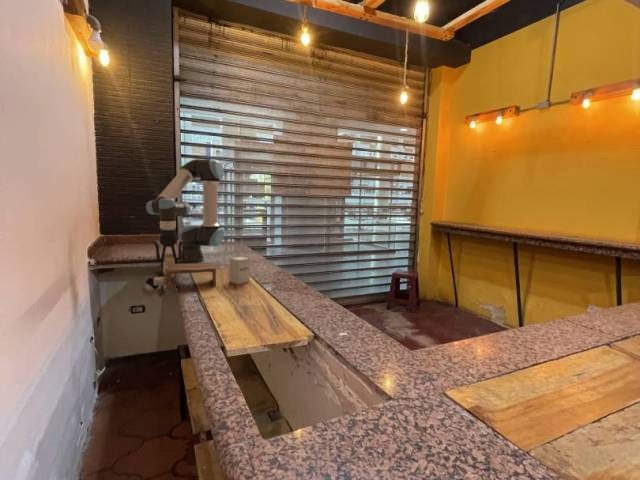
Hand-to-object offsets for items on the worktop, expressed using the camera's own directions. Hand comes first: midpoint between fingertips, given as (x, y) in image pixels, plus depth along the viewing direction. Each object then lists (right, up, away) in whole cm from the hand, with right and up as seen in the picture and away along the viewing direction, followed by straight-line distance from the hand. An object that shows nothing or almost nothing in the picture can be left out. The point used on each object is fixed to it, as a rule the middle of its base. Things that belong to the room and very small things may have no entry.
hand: (169, 273), depth 174 cm
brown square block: (0, -5, -10) cm, 11 cm away
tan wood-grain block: (+2, -3, -6) cm, 7 cm away
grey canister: (+37, -5, -1) cm, 37 cm away
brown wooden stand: (+15, -5, -8) cm, 18 cm away
